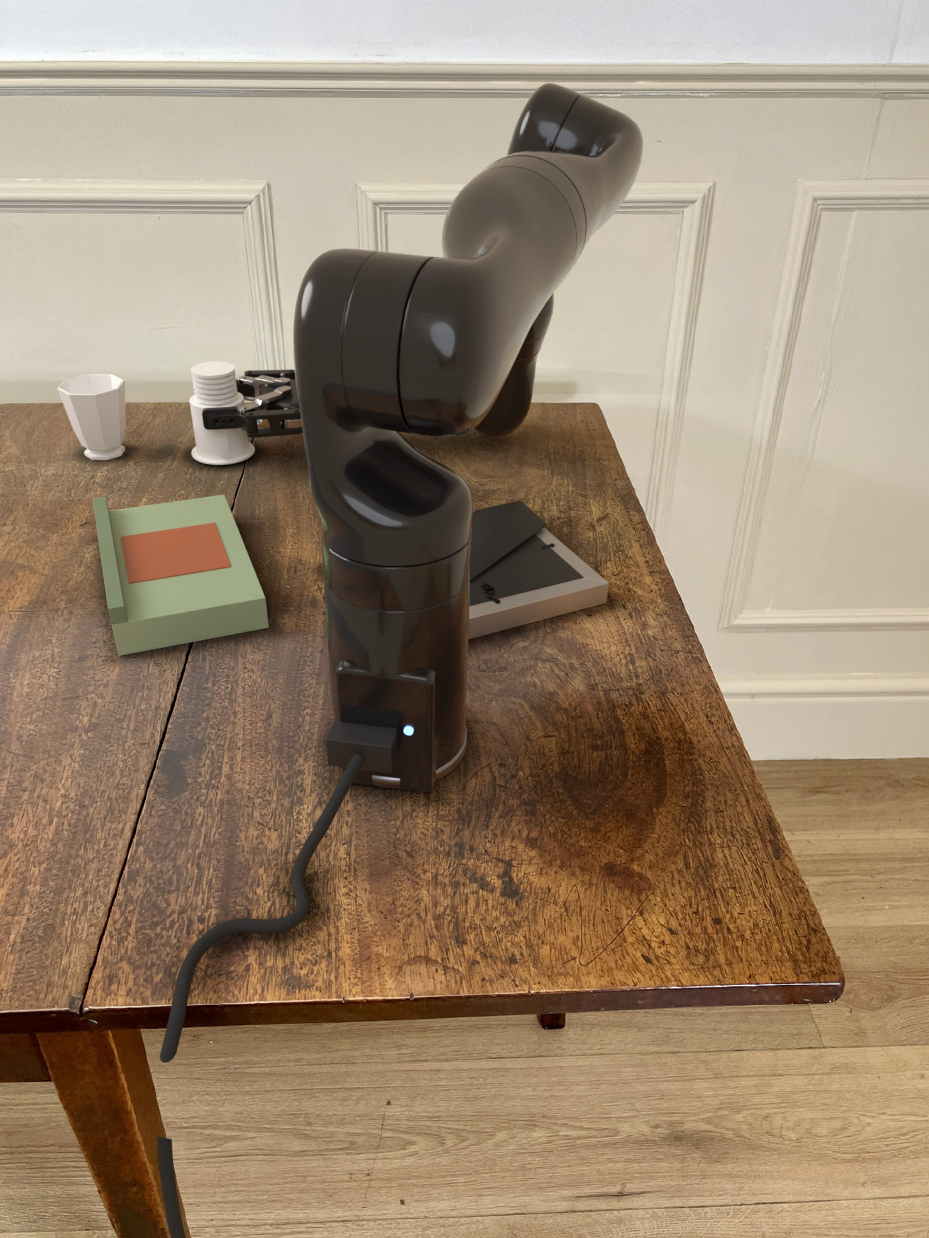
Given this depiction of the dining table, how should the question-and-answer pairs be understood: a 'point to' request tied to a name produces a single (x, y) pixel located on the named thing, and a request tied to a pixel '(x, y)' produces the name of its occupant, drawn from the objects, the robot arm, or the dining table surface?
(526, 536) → the picture frame
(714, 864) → the dining table surface
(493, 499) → the dining table surface
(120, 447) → the cup
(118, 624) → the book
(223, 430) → the downlight
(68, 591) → the dining table surface
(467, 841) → the dining table surface
